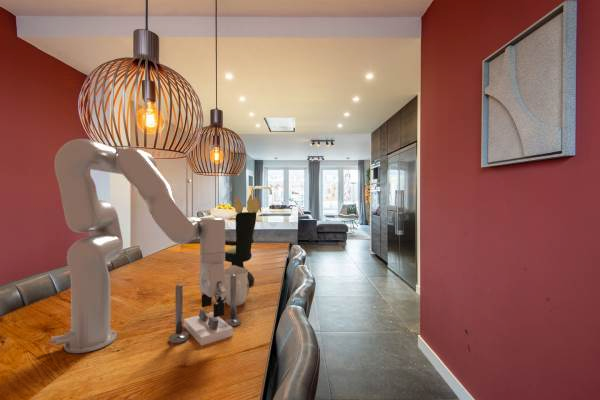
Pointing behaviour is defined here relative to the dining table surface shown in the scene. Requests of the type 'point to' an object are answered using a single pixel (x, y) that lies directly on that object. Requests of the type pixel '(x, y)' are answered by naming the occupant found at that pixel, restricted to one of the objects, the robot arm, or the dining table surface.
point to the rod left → (178, 318)
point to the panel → (207, 329)
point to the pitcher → (237, 284)
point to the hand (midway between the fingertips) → (212, 311)
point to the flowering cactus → (243, 235)
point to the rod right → (233, 304)
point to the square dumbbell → (212, 320)
